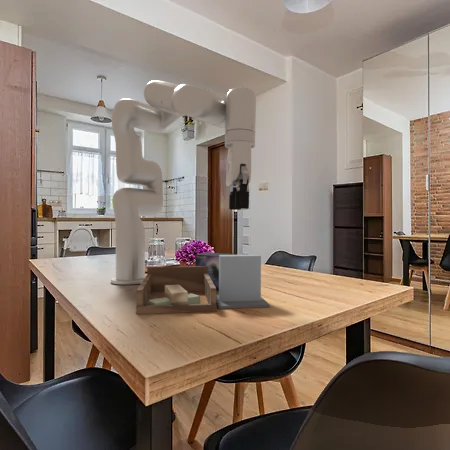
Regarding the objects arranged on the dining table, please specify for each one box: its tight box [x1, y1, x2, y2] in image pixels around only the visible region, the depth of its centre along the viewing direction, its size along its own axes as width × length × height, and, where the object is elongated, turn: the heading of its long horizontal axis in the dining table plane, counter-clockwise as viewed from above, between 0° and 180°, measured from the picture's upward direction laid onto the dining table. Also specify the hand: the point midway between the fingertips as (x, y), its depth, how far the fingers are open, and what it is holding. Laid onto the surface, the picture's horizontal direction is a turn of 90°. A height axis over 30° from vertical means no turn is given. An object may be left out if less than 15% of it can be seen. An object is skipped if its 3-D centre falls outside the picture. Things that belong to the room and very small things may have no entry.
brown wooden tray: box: [135, 265, 217, 315], centre depth 83 cm, size 25×17×7 cm
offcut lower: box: [147, 292, 201, 305], centre depth 77 cm, size 4×12×2 cm, turn 129°
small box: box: [194, 251, 235, 291], centre depth 99 cm, size 11×6×10 cm, turn 62°
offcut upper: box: [164, 285, 189, 303], centre depth 77 cm, size 4×10×2 cm, turn 19°
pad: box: [216, 294, 271, 310], centre depth 81 cm, size 12×12×1 cm
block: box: [218, 254, 262, 302], centre depth 81 cm, size 4×10×11 cm, turn 97°
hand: (238, 209), depth 82 cm, fingers open, 9 cm apart
